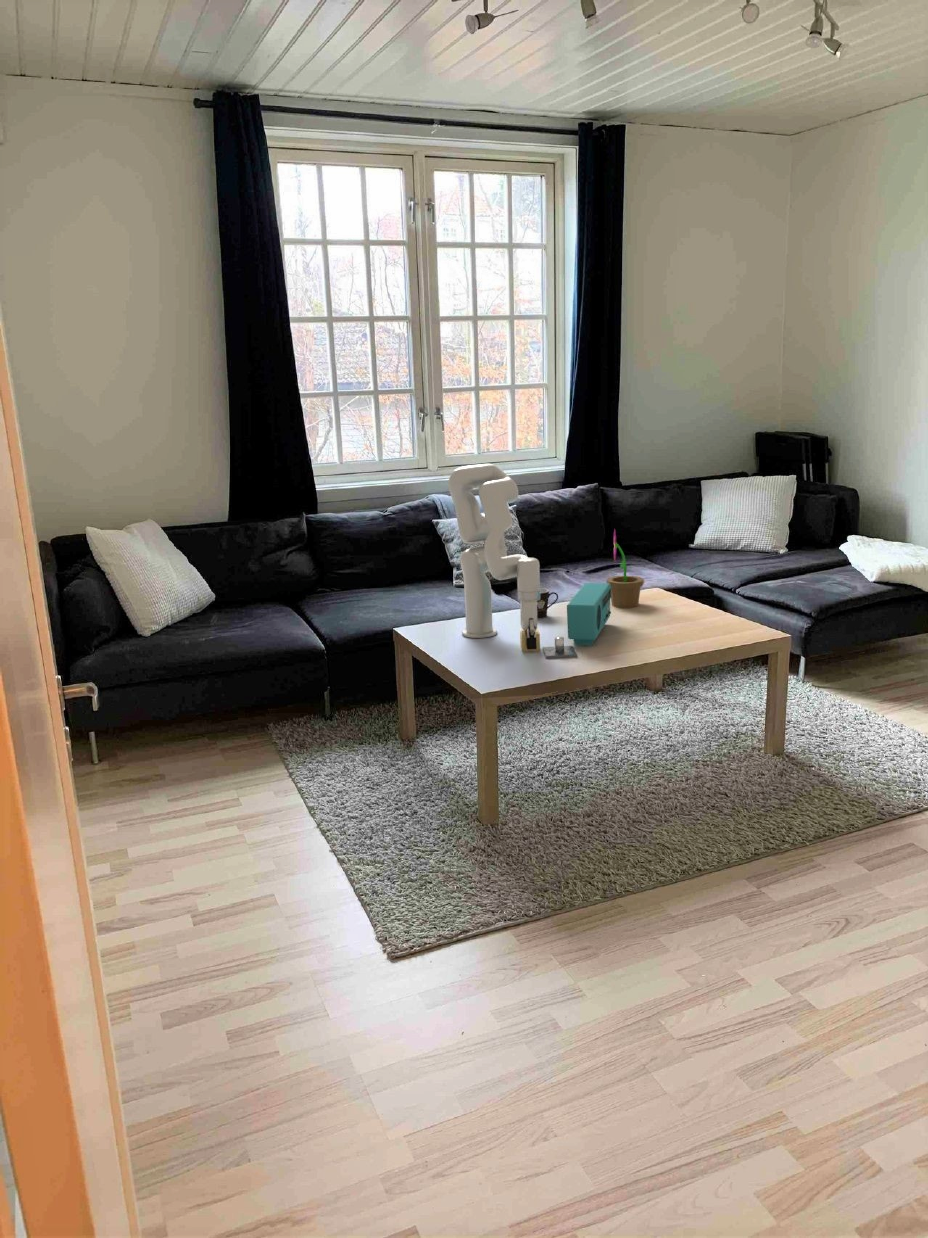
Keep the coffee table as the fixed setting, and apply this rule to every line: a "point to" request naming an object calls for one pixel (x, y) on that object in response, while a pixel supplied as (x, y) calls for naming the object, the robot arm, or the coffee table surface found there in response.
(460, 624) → the coffee table surface
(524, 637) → the pale yellow cube
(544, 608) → the coffee mug
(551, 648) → the stud plate
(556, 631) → the coffee table surface
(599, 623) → the radio
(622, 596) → the flowerpot
